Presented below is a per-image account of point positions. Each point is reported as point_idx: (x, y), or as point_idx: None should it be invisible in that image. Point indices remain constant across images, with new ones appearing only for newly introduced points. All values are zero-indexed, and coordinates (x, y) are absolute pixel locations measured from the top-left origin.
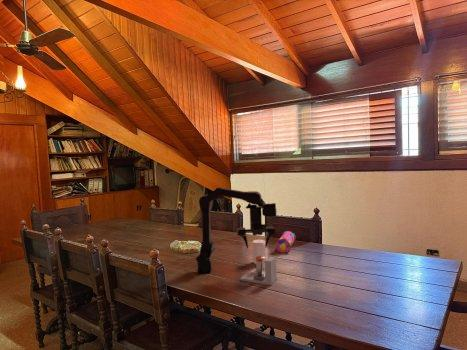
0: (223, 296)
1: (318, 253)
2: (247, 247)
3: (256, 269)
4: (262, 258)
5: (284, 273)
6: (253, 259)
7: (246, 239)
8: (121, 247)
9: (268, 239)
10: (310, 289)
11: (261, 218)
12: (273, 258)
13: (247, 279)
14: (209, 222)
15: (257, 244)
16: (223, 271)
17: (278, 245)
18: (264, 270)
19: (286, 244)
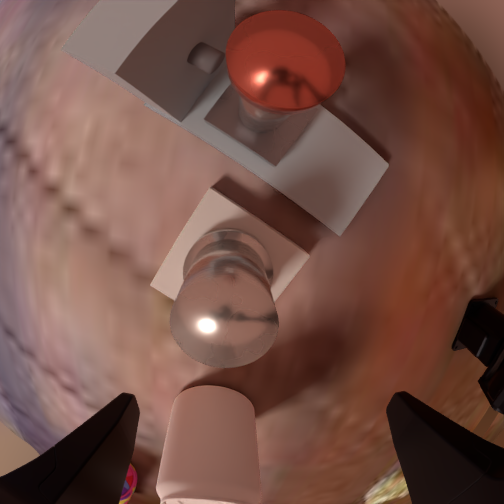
0: (443, 24)
1: (10, 399)
2: (408, 397)
3: (266, 262)
4: (245, 22)
5: (86, 224)
6: (253, 418)
7: (485, 468)
8: (491, 440)
9: (29, 469)
10: (50, 16)
11: None
12: (99, 11)
13: (350, 129)
14: None
15: (226, 491)
16: (424, 319)
17: (126, 482)
18: (206, 235)
19: None
